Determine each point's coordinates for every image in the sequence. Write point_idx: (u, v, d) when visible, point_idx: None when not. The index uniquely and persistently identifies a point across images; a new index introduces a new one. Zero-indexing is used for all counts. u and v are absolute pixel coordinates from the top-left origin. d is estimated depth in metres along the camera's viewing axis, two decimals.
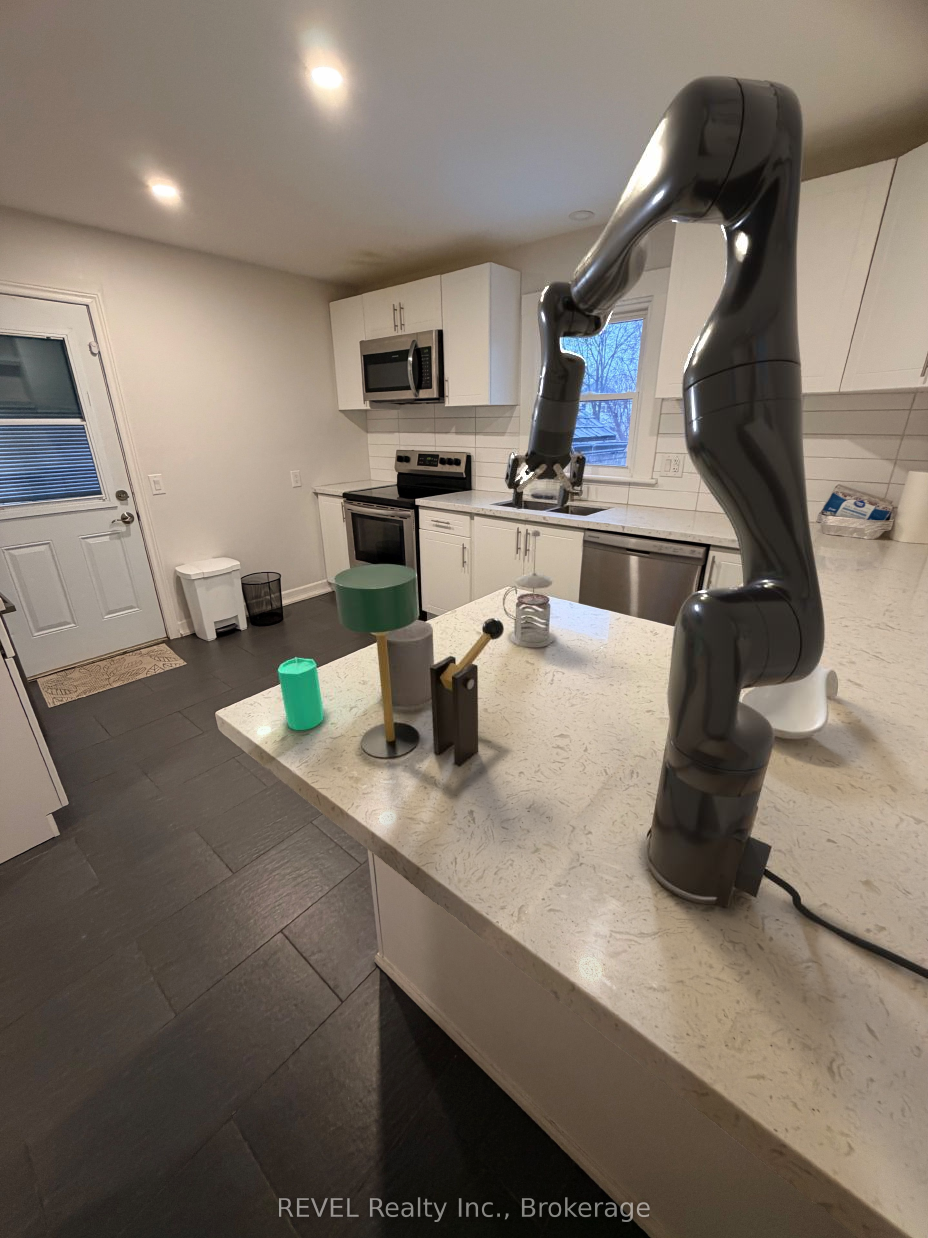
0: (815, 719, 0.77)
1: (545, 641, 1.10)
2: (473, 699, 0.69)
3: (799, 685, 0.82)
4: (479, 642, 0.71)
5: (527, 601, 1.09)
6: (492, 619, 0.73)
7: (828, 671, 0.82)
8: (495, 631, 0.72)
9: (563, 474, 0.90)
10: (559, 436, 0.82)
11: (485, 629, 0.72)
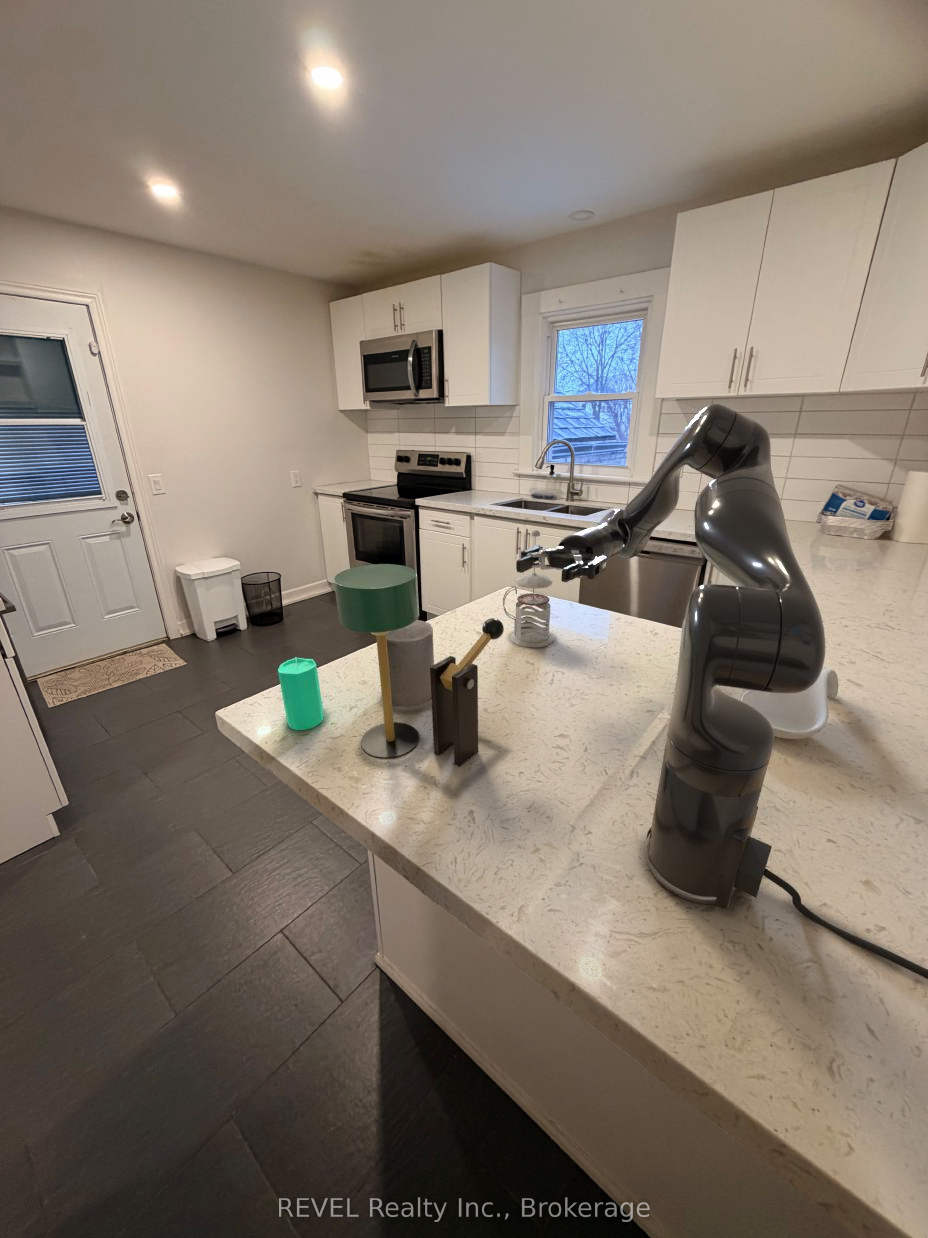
0: (815, 719, 0.77)
1: (545, 641, 1.10)
2: (473, 699, 0.69)
3: None
4: (479, 642, 0.71)
5: (527, 601, 1.09)
6: (492, 619, 0.73)
7: (828, 671, 0.82)
8: (495, 631, 0.72)
9: (578, 554, 0.83)
10: (585, 531, 0.90)
11: (485, 629, 0.72)
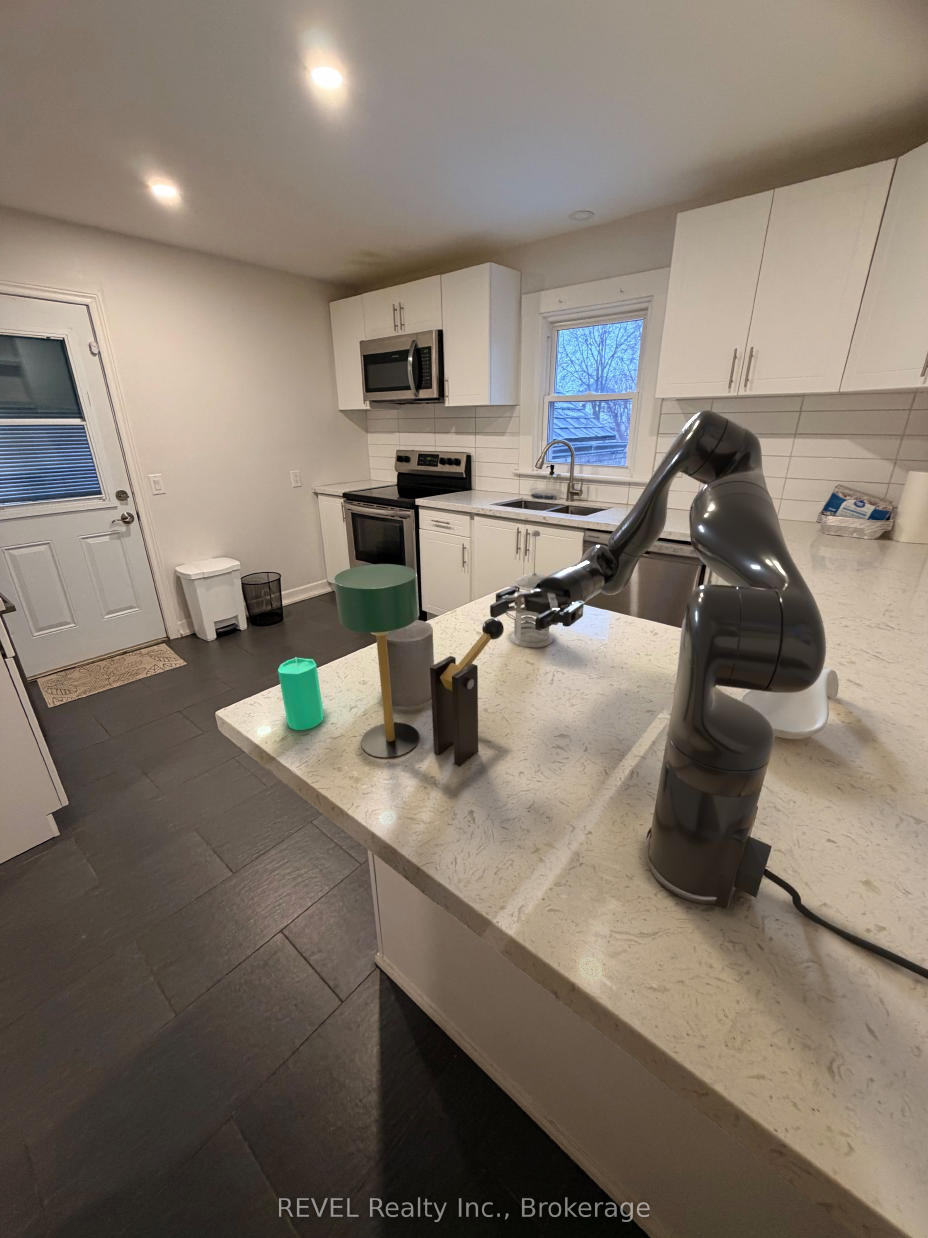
0: (815, 719, 0.77)
1: (545, 641, 1.10)
2: (473, 699, 0.69)
3: None
4: (479, 642, 0.71)
5: None
6: (492, 619, 0.73)
7: (828, 671, 0.82)
8: (495, 631, 0.72)
9: (554, 598, 0.80)
10: (563, 572, 0.87)
11: (485, 629, 0.72)
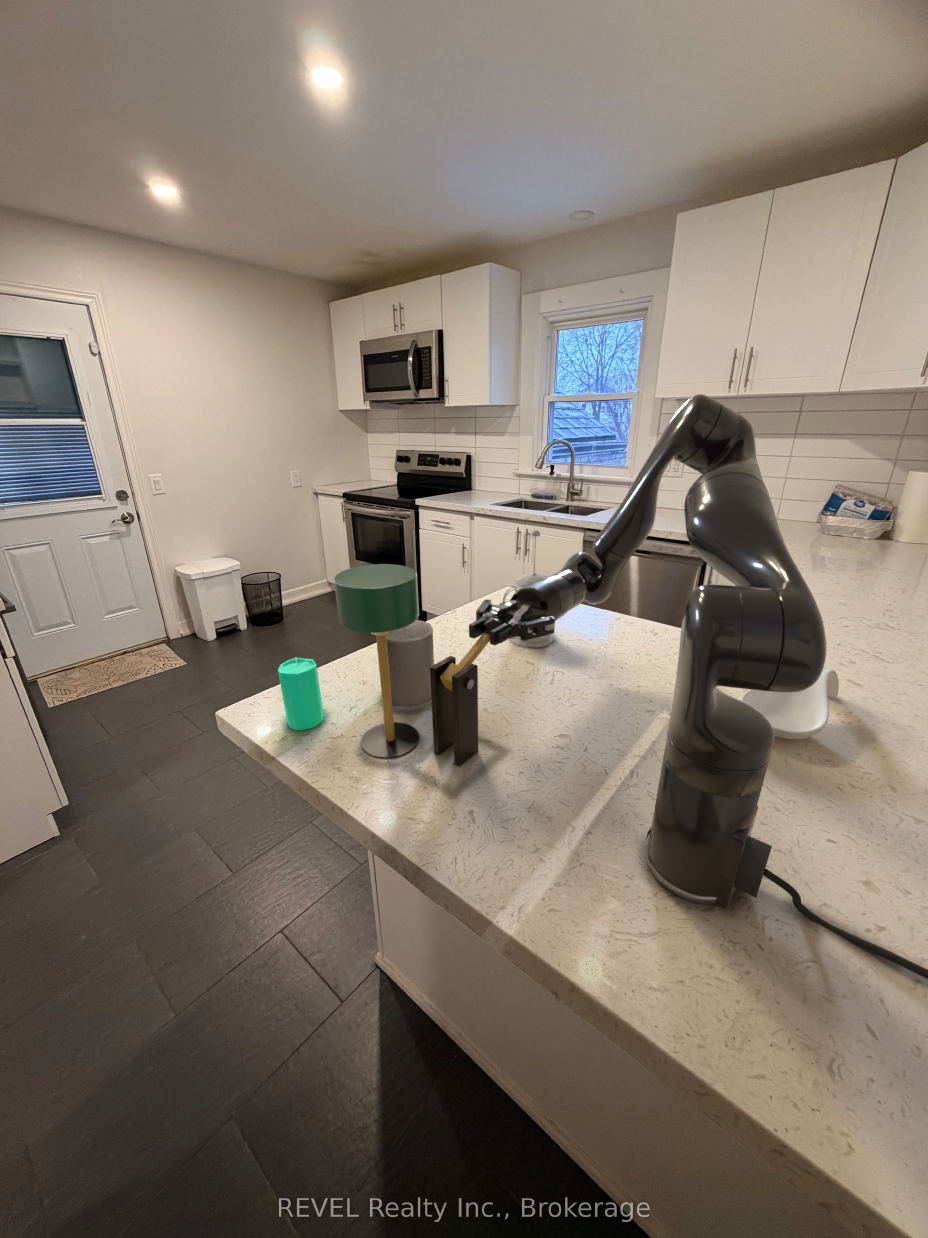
0: (816, 719, 0.77)
1: (545, 641, 1.10)
2: (473, 699, 0.69)
3: None
4: (479, 642, 0.71)
5: None
6: (492, 619, 0.73)
7: (829, 671, 0.82)
8: None
9: (523, 611, 0.75)
10: (541, 582, 0.81)
11: (485, 629, 0.72)
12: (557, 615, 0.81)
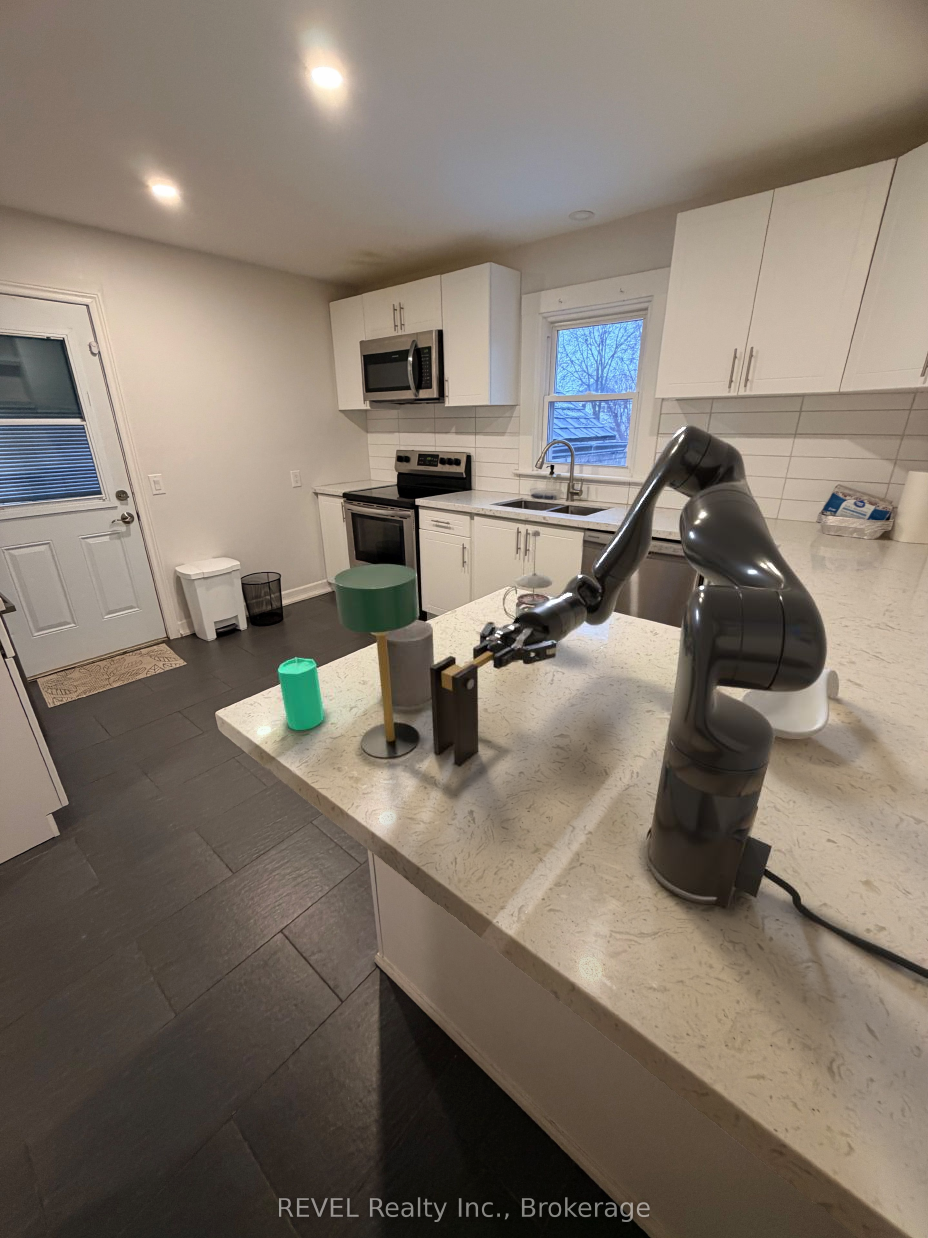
0: (816, 719, 0.77)
1: None
2: (473, 699, 0.69)
3: None
4: (482, 656, 0.73)
5: (527, 601, 1.09)
6: (498, 641, 0.76)
7: (829, 671, 0.82)
8: (499, 651, 0.74)
9: (525, 635, 0.77)
10: (543, 606, 0.84)
11: (490, 648, 0.75)
12: (558, 638, 0.83)
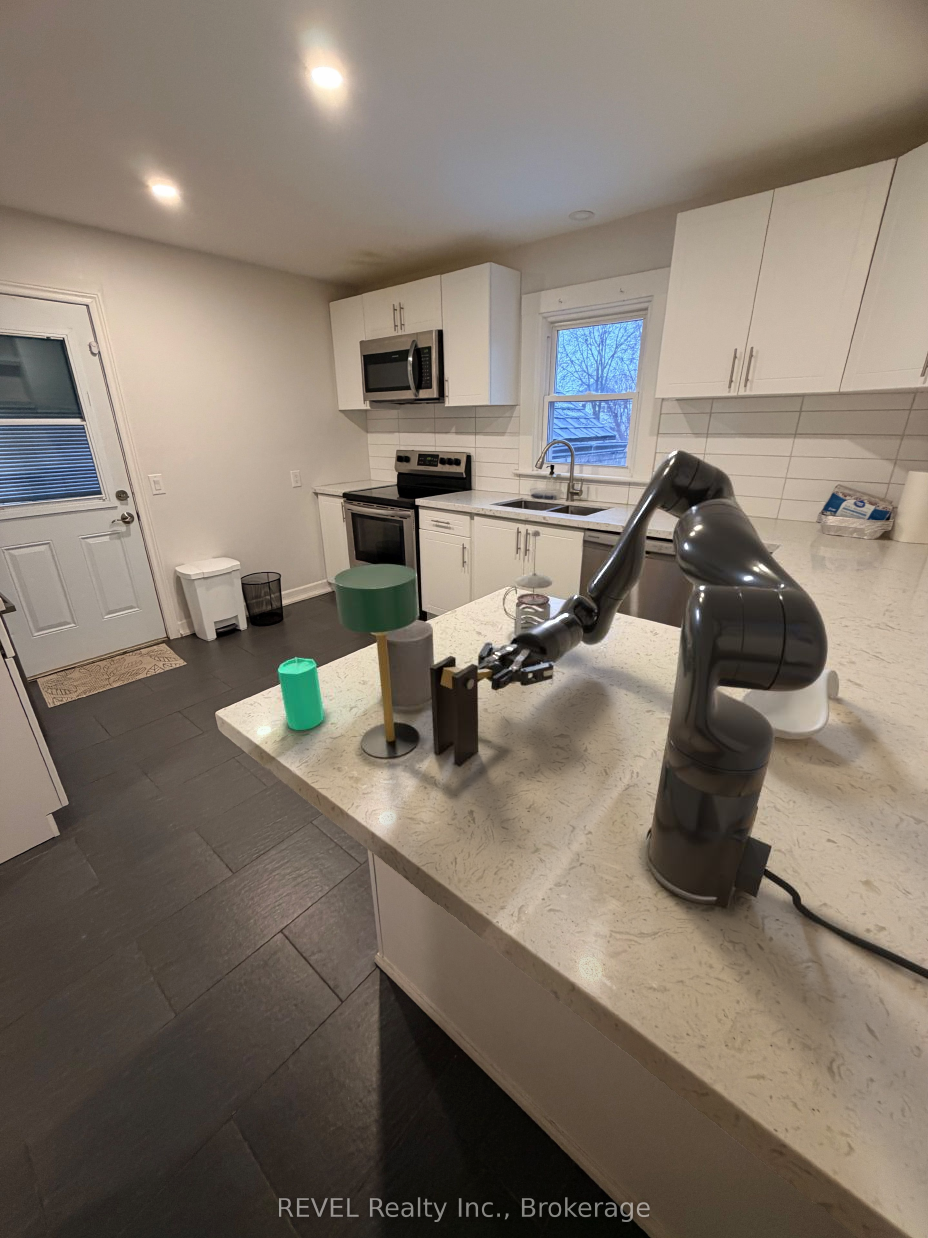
0: (816, 719, 0.77)
1: None
2: (473, 699, 0.69)
3: None
4: (482, 670, 0.74)
5: (527, 601, 1.09)
6: None
7: (829, 671, 0.82)
8: (498, 670, 0.75)
9: (523, 657, 0.79)
10: (540, 627, 0.85)
11: (489, 666, 0.76)
12: (555, 659, 0.84)
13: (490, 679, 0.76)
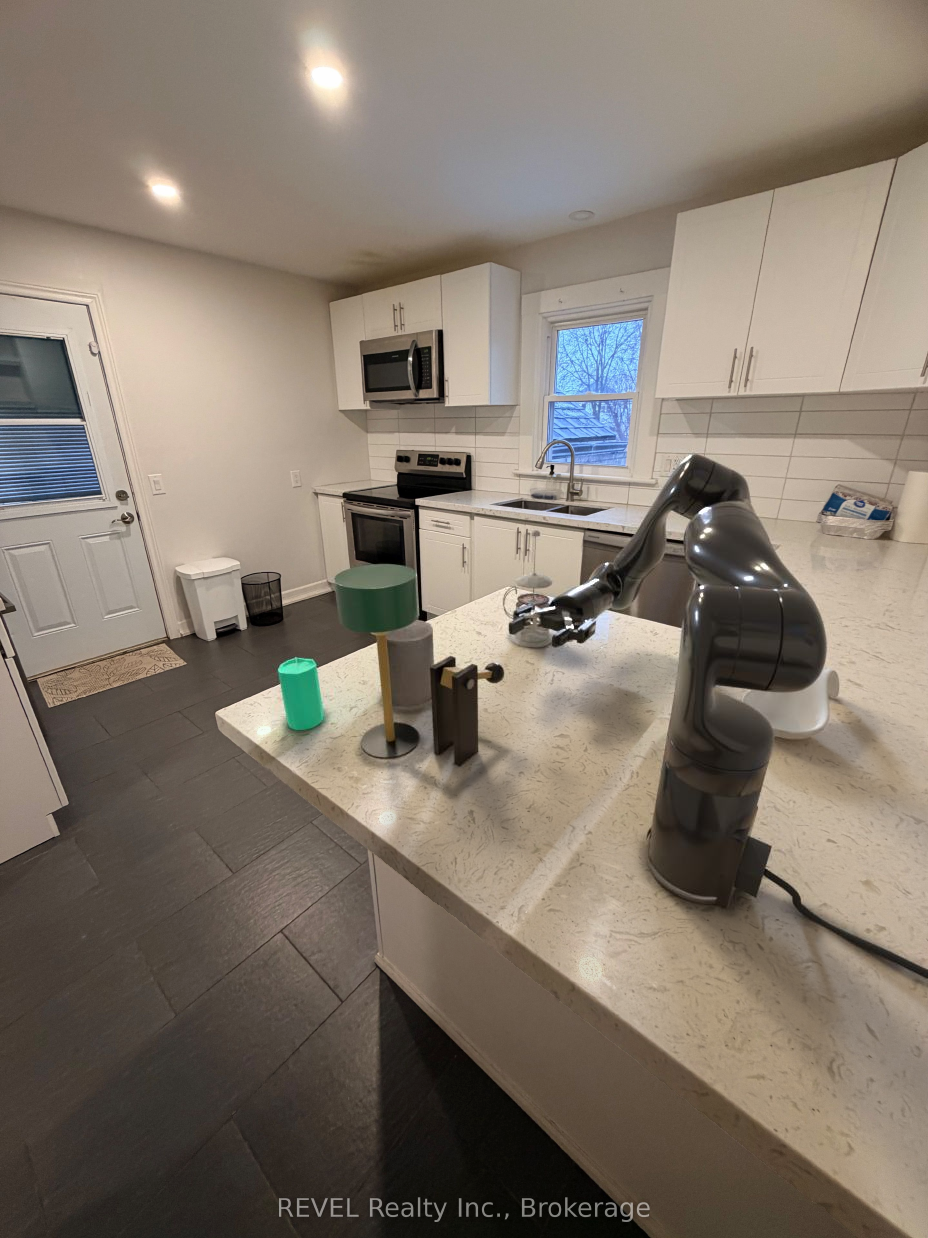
0: (816, 719, 0.77)
1: (545, 641, 1.10)
2: (473, 699, 0.69)
3: None
4: (482, 671, 0.74)
5: (527, 601, 1.09)
6: (497, 663, 0.77)
7: (829, 671, 0.82)
8: (498, 671, 0.75)
9: (568, 617, 0.86)
10: (576, 591, 0.92)
11: (489, 667, 0.76)
12: None
13: (490, 680, 0.76)
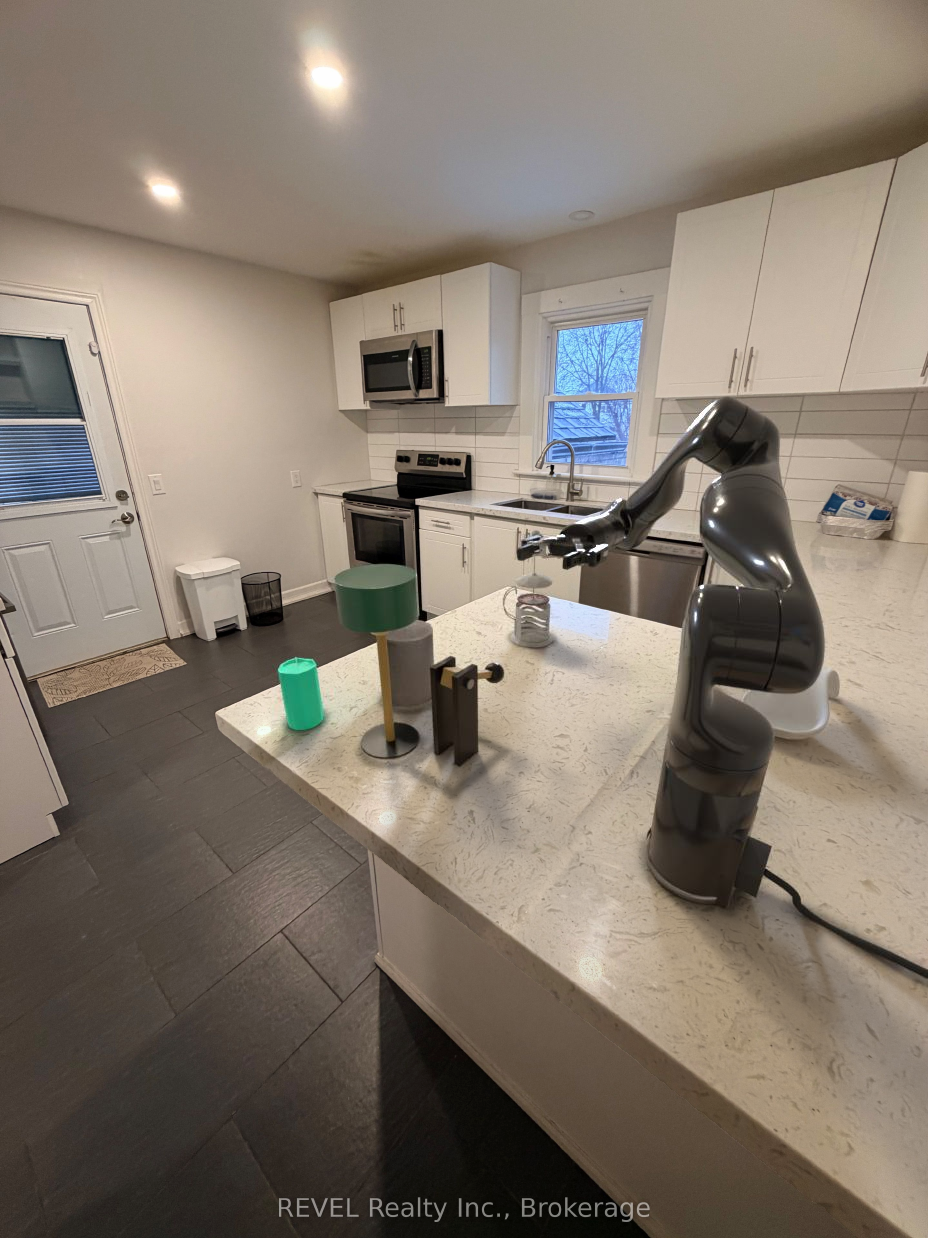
0: (816, 720, 0.77)
1: (545, 641, 1.10)
2: (473, 699, 0.69)
3: None
4: (482, 671, 0.74)
5: (527, 601, 1.09)
6: (497, 663, 0.77)
7: (829, 671, 0.82)
8: (498, 671, 0.75)
9: (579, 542, 0.82)
10: (586, 520, 0.89)
11: (489, 667, 0.76)
12: None
13: (490, 680, 0.76)
